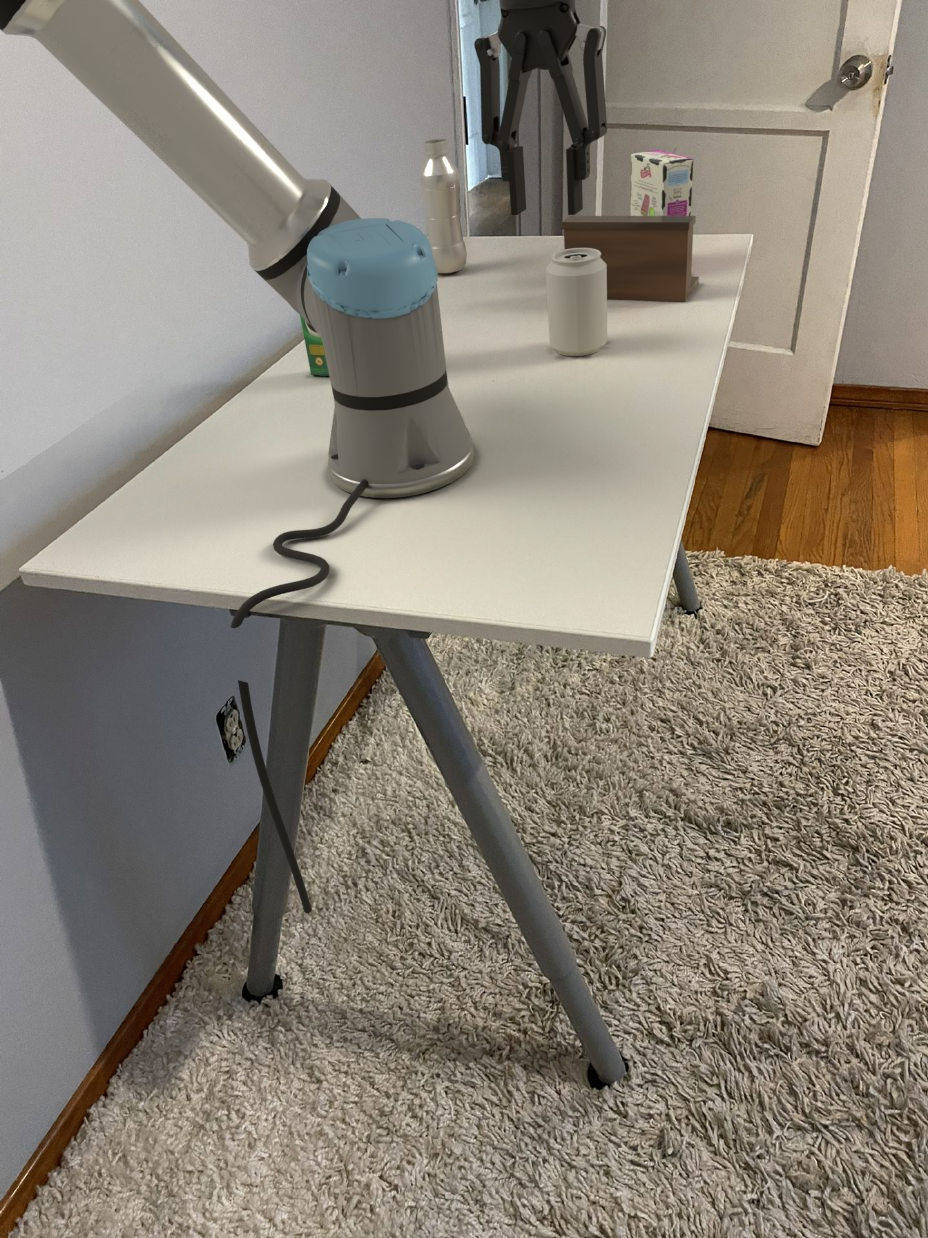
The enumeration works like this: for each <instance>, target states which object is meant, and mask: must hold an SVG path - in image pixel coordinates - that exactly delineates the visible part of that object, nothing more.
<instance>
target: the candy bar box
mask: <svg viewBox="0 0 928 1238" xmlns="http://www.w3.org/2000/svg"><path fill="white" fill-rule="evenodd" d="M693 175H694V158H693V157H688V156H685V155H681V154H677V153H673V152H669V151H665V150H660V149H653V150H646V151H640V152H636V153H631V154H630V215H629V216H692V215H691V214H692V198H693V197H692V196H693V180H694V179H693Z"/></svg>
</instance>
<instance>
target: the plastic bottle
mask: <svg viewBox="0 0 928 1238" xmlns="http://www.w3.org/2000/svg"><path fill="white" fill-rule="evenodd" d="M423 148H424V152H423V153H424V156H426V160H425V162H424V164H423V166H422V168H421V171H420V174H419V179H418V181H419V186H420V190H421V194H422V199H423V202H424V209H425V214H426V221H427V238H428V240H429V242H430V245H431V249H432V255H433V259H434V261H435V263H436V268H437V274H451V273H455V272H459V271H462V270H463V269H465V267H466V264H467V261H468V252H467V247H466V243H465V240H464V235H463V229H462V223H461V214H460V208H461V207H460V191H461V189H460V188H461V183H460V182H461V174H460V171H459V169H458V168H457V166H456V164H455V163H454V162H453V161H452V160H451V159H450V157H449V155H448V154H449V153H450V149H449V144H448V140H447V138H436V139H429V140H426V141H424V142H423Z"/></svg>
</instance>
